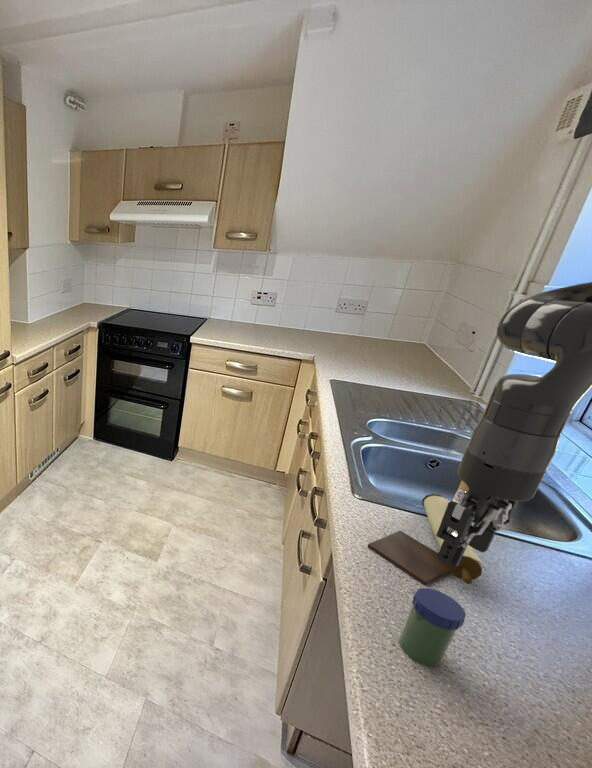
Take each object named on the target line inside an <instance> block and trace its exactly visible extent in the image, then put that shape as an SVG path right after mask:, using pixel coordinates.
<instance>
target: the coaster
mask: <svg viewBox="0 0 592 768" xmlns="http://www.w3.org/2000/svg"><path fill="white" fill-rule="evenodd" d="M367 548H368V549H370V551H373V552H374V553H376V554H377V555H379V556H380V557H381V558H383V559H384V560H386V561H387V562H389V563H391V564H392V565H394V566H395V567H397V568H398V569H400V570H401V571H403V572H404V573H405V574H407V575H409V576H410V577H411V578H413V579H414V580H416V581H418V582H419V583H421V584H422V585H423V586H427V585H429V584H430V583H433V582H434V581H436V580H438V579H440V578H441V577H444V576H445V575H447V574H449V573H450V572H449V570H448V568H447V564H445V563H444V562H442V561H440V560H439V559H438V557H437V556H438V553H439V552H437V551H435V550H434V549H432V548H430V547H429V546H427V545H426V544H424V543H422V542H420V541H418V540H417V539H415V538H414V537H412V536H410V535H409V534H408V533H405V532H404V531H402V530H398V531H396V532H394V533H391V534H388V535H386V536H384V537H381V538H378V539H377V540H373V541H371V542H369V543H368V544H367Z"/></svg>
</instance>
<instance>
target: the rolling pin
mask: <svg viewBox="0 0 592 768" xmlns="http://www.w3.org/2000/svg"><path fill="white" fill-rule="evenodd" d="M450 501H451V500H449V499H447V498H446V497H445V496H443V495H441V494H437V493H430V494H426V495H424V497H423V498H422V502H421V505H422V507H423V508H424V510H425V513H426V516H427V520H428V522H429V525H430V527H431V530H432V532H433V534H434V535H433V536H434V537H435V539H436V542H437V544H438V546H439V549H440V548H441V546H442V544H443V541H444V540H443V539H441V538H439V537H437V536H436V535H437V532H438V529H439V527H440V524H441V521H442V519H443V516H444V514H445V511H446V508H447V506H448V503H449V502H450ZM454 533H456V534H458V533H457V531H455V530H454ZM482 567H483V568H485V565H484V564H483V562H482V561H481V559H480V558H479V556H478V555H477V552H476V551H475V550H474V548H473V547H471V546H469V545H468V546H467V547H466V549H465V552H464V554H463V556H462V558H461V561H460V563H459V565H458V566H456V567H454V568H453V567H450V566H449V565H447V568H448V570H449V573H450V574H451V575H453V576H454V577H455V578H457V579H462V581H463V583H465V584H466V585H471V584H472V583H473V580H476V579H478V578H479V577H480V576H481V575H482V571H483V568H482Z"/></svg>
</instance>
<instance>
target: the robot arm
mask: <svg viewBox="0 0 592 768" xmlns="http://www.w3.org/2000/svg"><path fill="white" fill-rule="evenodd" d="M496 337H497V340H498V341H499V343H500V344H501V345H502V346H503V347H504V348H506V349H507V350H509V351H512V352H514V353H516V354H521V355H523V356H528V357H534V358H537V359H541V360H545V361H548V362H553V363H554V366H553V367H552V368H551V369H550V370H549V371H547V372H546V373H545V374H544V375H535V374H526V373H511V374H506V375H503V376H501V377H500V378H498V379H497V381H496V383H495V384H494V386H493V388H492V391H491V393H490V396H489V399H488V401H487V403H486V405H485V409H484V411H483V413H482V415H481V418H480V419H479V421H477V424H476V425H475V427H474V428H473V431H472V433H471V436H470V439H469V441H468V443H467V446H466V448H465V451H464V453H463V455H462V458H461V461H460V463H459V466H458V468H457V470H456V473H457V477H458V478H459V479H460V480H461V481H463V482H464V483H465V484H466V485H467V486H468V488H469V490H468V491H467V492H464V493H463V494H462V495H461V496H460V498H459V499H458V501H459V503H457V502H455V501H453V499H452V500H449V501H450V502H449V503H448V506H447V508H446V511H445V514H444V516H443V519H442V521H441V524H440V527H439V529H438V532H437V535H436V536H437V537H439V538H441V539H443V540H444V541H443V544H442V546H441V548H440V547H439V551H438V552H437V553H438V556H437V557H438V559H439V560H440V561H442V562H444V563H445V564H447V565H449V566H450V567H453V568H454V567H456V566H458V565H459V563H460V561H461V558H462V556H463V554H464V552H465V549H466V547H467V546H468V545H469V546H471V547H472V548H473V550H474V549H475V550H476V551H478V552H480V553H485V552H487V551H488V550H489V548H490V546H491V543H492V541H493V539H494V537H495V536H496V533H498V532H499V531H501V530H502V528H503V525H504V526H506V525H508V524H510V522H511V518H512V517H513V515H514V513H515V511H516V509H517V507H518V504H519V502H527V501H530V500H532V499H533V498H534V497H535V495H536V493H537V491H538V489H539V487H540V485H541V483H542V481H543V479H544V477H545V475H546V473H547V471H548V468H549V467H550V464H551V462H552V460H553V458H554V456H555V454H556V452H557V449H558V444H559V441H560V438H561V435H562V433H563V431H564V430H565V427H566V425H567V423H568V421H569V418H570V416H571V414H572V412H573V410H574V409H575V407H576V405H577V404H578V402H579V401H580V400H581V399H582V398H583V397H584V395H585V394H586V393H587V392H588V391H589V390H590V389H591V388H592V281H589V282H588V281H587V282H583V283H582V282H581V283H577V284H572V285H568V286H564V287H559V288H555V289H549V290H546V291H542V292H539V293H535V294H533V295H530V296H527V297H525V298H523V299H522V300H520V301H518V302H517V303H515V304H514V305H512V306H511V307H509V309H508V310H507V309H506V311H505V313H503V315H502V316H501V317H500V319H499V321H498V323H497V326H496ZM471 522H472V524H473V523H474V524H473V525H472V524H471ZM454 530H455V531H457V533H458V534H456V533H454Z"/></svg>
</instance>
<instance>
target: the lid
mask: <svg viewBox="0 0 592 768" xmlns="http://www.w3.org/2000/svg"><path fill="white" fill-rule="evenodd" d="M411 603H412V607H413V606H414V608H415V610H416V611H417V612H418V613H419V614H420V615H421V616H422V617H423V618H424V619H426V620H427V621H429V622H430V623H432V624H434V625H436V626H438V627H441V628H444V629H449V630H455V629H456V631H457V630H458V629H460V628H461V627H462V626H463V624H464V622H465V619H466V611H465V610H464V608H463V607H462V605H461V604H460V603H459V602H458V601H457V600H456V599H454V598H453V597H452V596H450V595H448V594H446V593H444V592H442V591H440V590H437V589H434V588H429V587H422V588H419V589H417V590H416V592H415V593H414V595H413V597H412V602H411Z"/></svg>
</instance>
